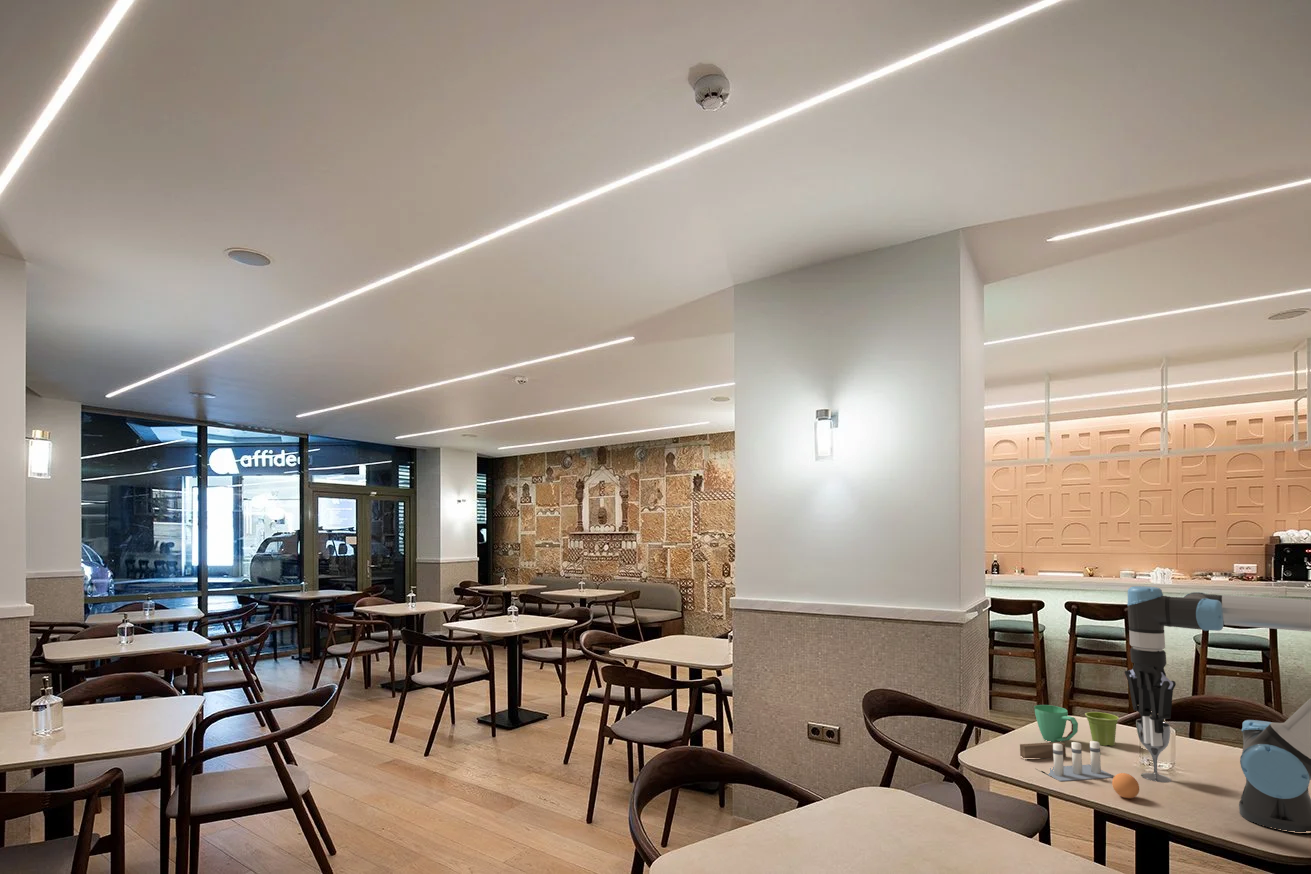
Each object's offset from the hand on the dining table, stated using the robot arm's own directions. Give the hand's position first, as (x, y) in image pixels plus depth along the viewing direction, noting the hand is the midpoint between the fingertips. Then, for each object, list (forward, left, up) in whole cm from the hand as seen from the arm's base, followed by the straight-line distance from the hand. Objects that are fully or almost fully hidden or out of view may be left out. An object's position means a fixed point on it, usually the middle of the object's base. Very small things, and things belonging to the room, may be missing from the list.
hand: (1153, 744), depth 183 cm
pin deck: (+28, 0, -16) cm, 32 cm away
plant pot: (+50, -29, -17) cm, 60 cm away
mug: (+53, -15, -17) cm, 57 cm away
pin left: (+27, +6, -16) cm, 32 cm away
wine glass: (+21, -20, -17) cm, 33 cm away
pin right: (+27, -6, -16) cm, 32 cm away
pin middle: (+27, 0, -16) cm, 31 cm away
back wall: (+41, 0, -16) cm, 44 cm away
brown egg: (+10, 0, -13) cm, 16 cm away
